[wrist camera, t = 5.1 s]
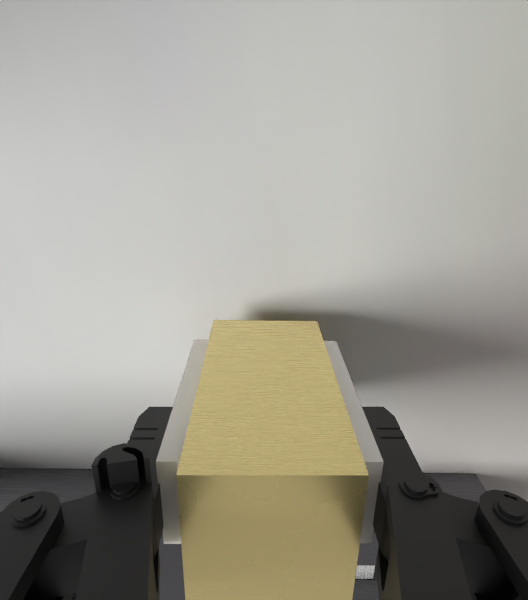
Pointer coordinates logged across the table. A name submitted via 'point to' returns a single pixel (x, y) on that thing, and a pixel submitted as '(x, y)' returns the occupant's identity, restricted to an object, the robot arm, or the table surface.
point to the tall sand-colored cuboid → (269, 470)
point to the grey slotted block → (80, 483)
